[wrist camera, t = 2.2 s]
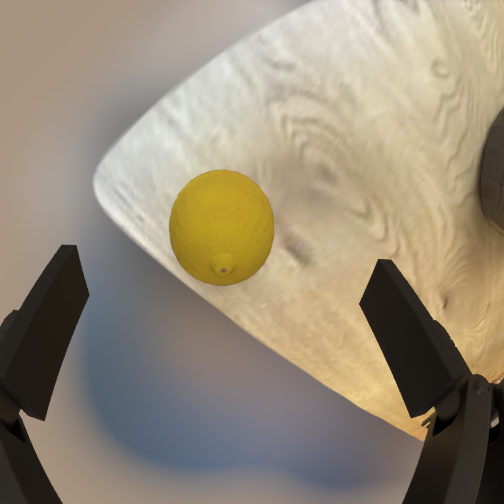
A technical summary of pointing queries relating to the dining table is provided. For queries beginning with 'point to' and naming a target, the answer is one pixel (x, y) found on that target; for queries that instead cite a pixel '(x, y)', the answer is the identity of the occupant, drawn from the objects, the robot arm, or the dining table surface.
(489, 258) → the dining table surface
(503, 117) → the black mixing bowl
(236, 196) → the lemon
